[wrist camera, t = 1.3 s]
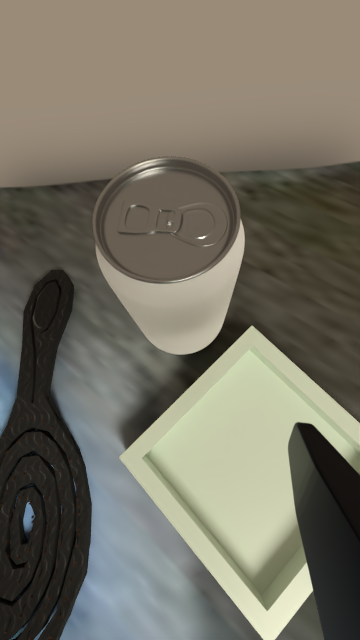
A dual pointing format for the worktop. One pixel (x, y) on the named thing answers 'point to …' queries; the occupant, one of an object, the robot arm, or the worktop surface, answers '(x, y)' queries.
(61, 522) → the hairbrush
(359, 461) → the tray
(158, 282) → the can
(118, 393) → the worktop surface
